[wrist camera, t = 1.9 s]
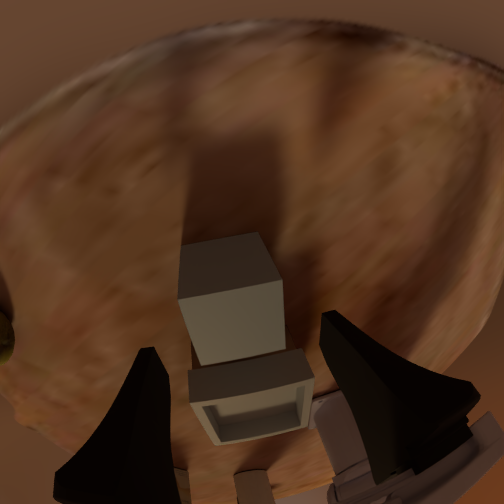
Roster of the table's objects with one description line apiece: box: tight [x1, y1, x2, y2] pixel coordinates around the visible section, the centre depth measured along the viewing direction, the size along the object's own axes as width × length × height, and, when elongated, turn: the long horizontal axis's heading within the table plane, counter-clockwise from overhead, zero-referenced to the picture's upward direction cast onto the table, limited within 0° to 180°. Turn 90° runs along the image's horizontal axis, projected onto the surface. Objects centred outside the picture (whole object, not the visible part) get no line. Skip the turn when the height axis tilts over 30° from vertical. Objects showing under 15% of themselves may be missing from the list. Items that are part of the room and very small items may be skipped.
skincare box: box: [174, 468, 191, 504], centre depth 26 cm, size 6×4×12 cm
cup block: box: [188, 348, 315, 446], centre depth 18 cm, size 8×8×3 cm
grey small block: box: [178, 232, 286, 366], centre depth 15 cm, size 4×4×5 cm
